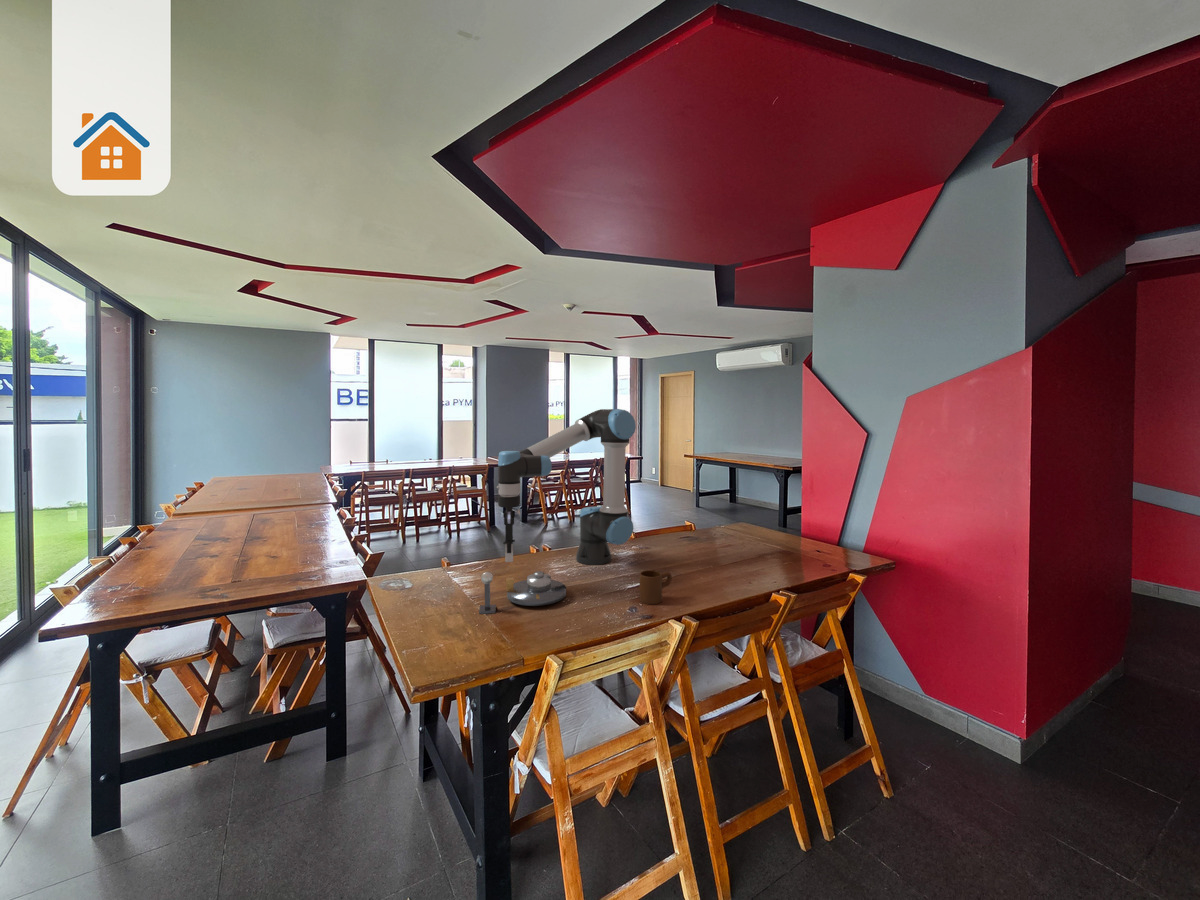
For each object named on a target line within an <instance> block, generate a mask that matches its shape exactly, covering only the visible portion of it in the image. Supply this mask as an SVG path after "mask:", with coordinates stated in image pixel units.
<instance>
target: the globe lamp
mask: <svg viewBox="0 0 1200 900" xmlns="http://www.w3.org/2000/svg"><path fill="white" fill-rule="evenodd" d="M493 575H494V574H492V572H490V571H484V572H483V573H482V574H481V576H480V580H481V582H482V583H483V585H484V604H482V605H479V610H478V615H483V614H484V615H485V614H488V615H489V614H496V610H497V605H496V604H491V583H492V582H493V579H494V576H493Z"/></svg>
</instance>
